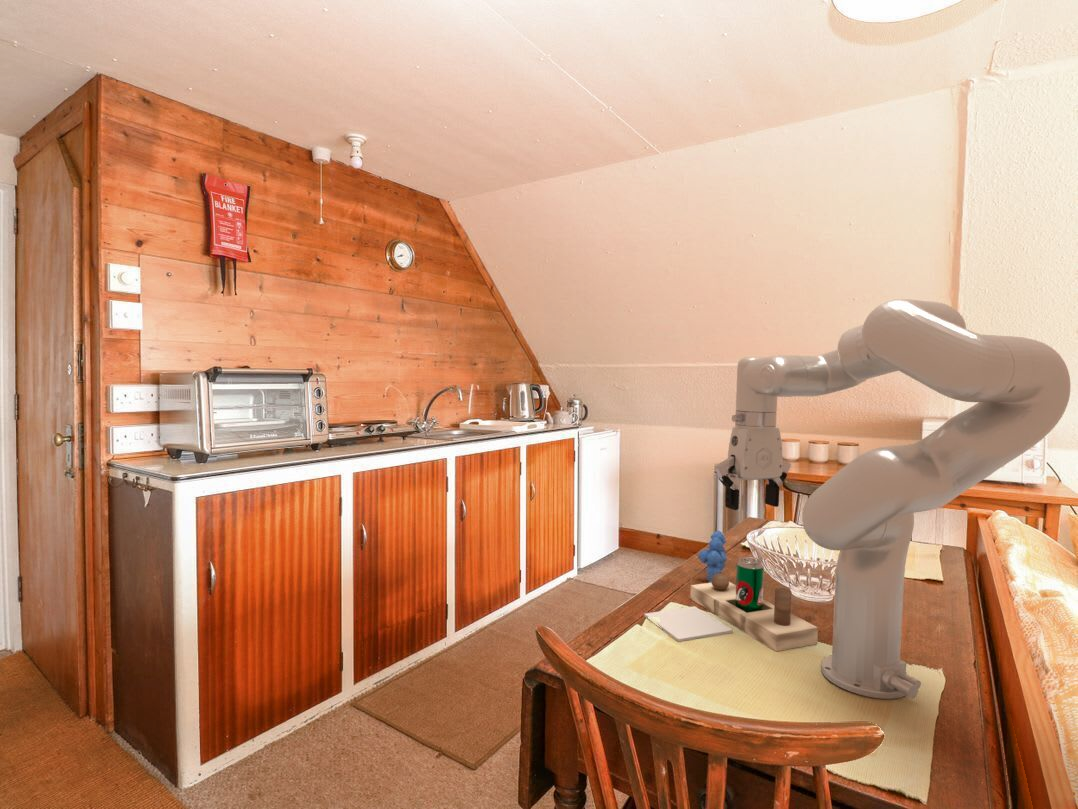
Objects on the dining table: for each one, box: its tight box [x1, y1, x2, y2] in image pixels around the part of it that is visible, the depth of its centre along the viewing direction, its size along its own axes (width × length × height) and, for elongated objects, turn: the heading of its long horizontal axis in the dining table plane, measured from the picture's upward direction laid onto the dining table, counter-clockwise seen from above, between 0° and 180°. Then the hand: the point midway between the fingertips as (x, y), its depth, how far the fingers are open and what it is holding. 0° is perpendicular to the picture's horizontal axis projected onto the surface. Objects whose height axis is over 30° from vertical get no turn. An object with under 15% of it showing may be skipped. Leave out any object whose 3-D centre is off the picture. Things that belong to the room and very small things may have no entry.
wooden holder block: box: [689, 572, 819, 652], centre depth 118 cm, size 26×9×9 cm, turn 21°
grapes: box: [697, 530, 728, 583], centre depth 139 cm, size 12×7×12 cm, turn 155°
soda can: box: [735, 556, 765, 613], centre depth 118 cm, size 5×5×12 cm
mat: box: [643, 605, 734, 643], centre depth 116 cm, size 12×12×1 cm
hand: (751, 506), depth 118 cm, fingers open, 9 cm apart
